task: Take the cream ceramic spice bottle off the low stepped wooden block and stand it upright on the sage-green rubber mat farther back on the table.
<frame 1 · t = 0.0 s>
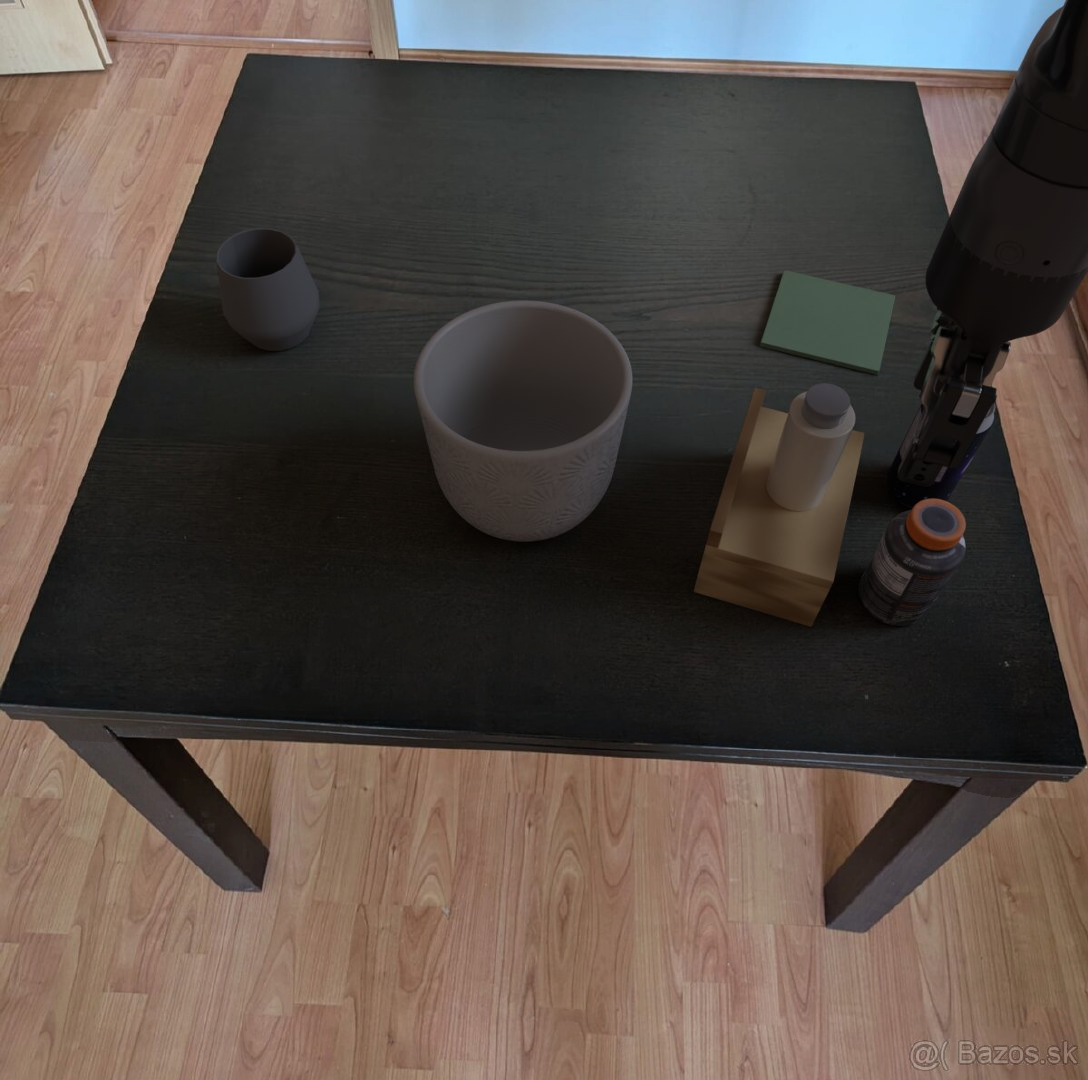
hand: (921, 432, 62), 21 cm above the table, tool pointing down, fingers open, 8 cm apart
planter: (525, 494, 85), on the table
spice bottle: (795, 488, 76), point 7 cm above the table, touching stepped wooden block
beverage can: (914, 492, 85), on the table
cup: (280, 333, 97), on the table
mat: (828, 322, 98), on the table
stepped wooden block: (771, 535, 82), on the table
pill bottle: (891, 598, 79), on the table
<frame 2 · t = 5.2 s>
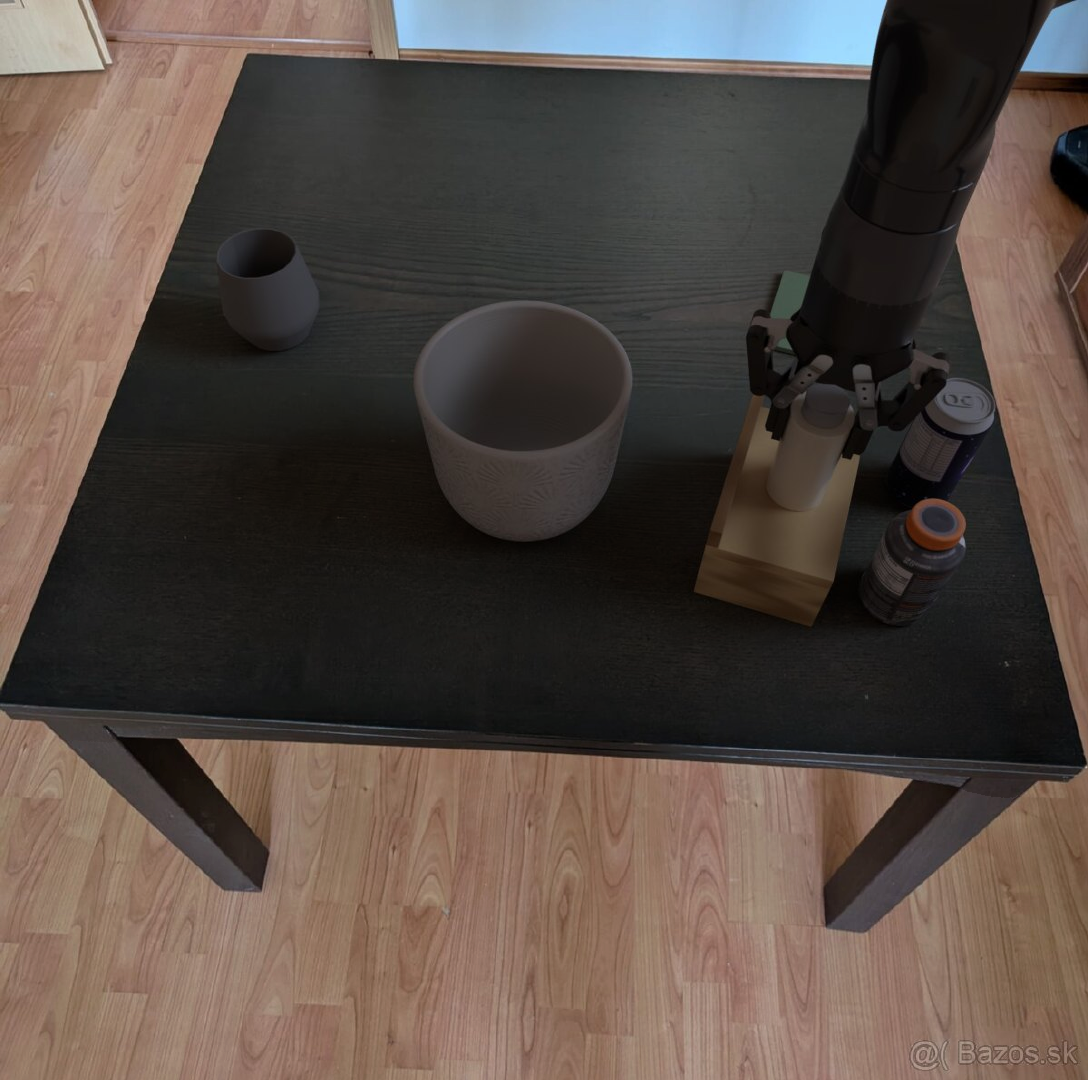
hand: (812, 441, 72), 13 cm above the table, tool pointing down, fingers closed on spice bottle, 5 cm apart
spice bottle: (795, 488, 76), point 7 cm above the table, touching gripper, stepped wooden block
everything else where it was.
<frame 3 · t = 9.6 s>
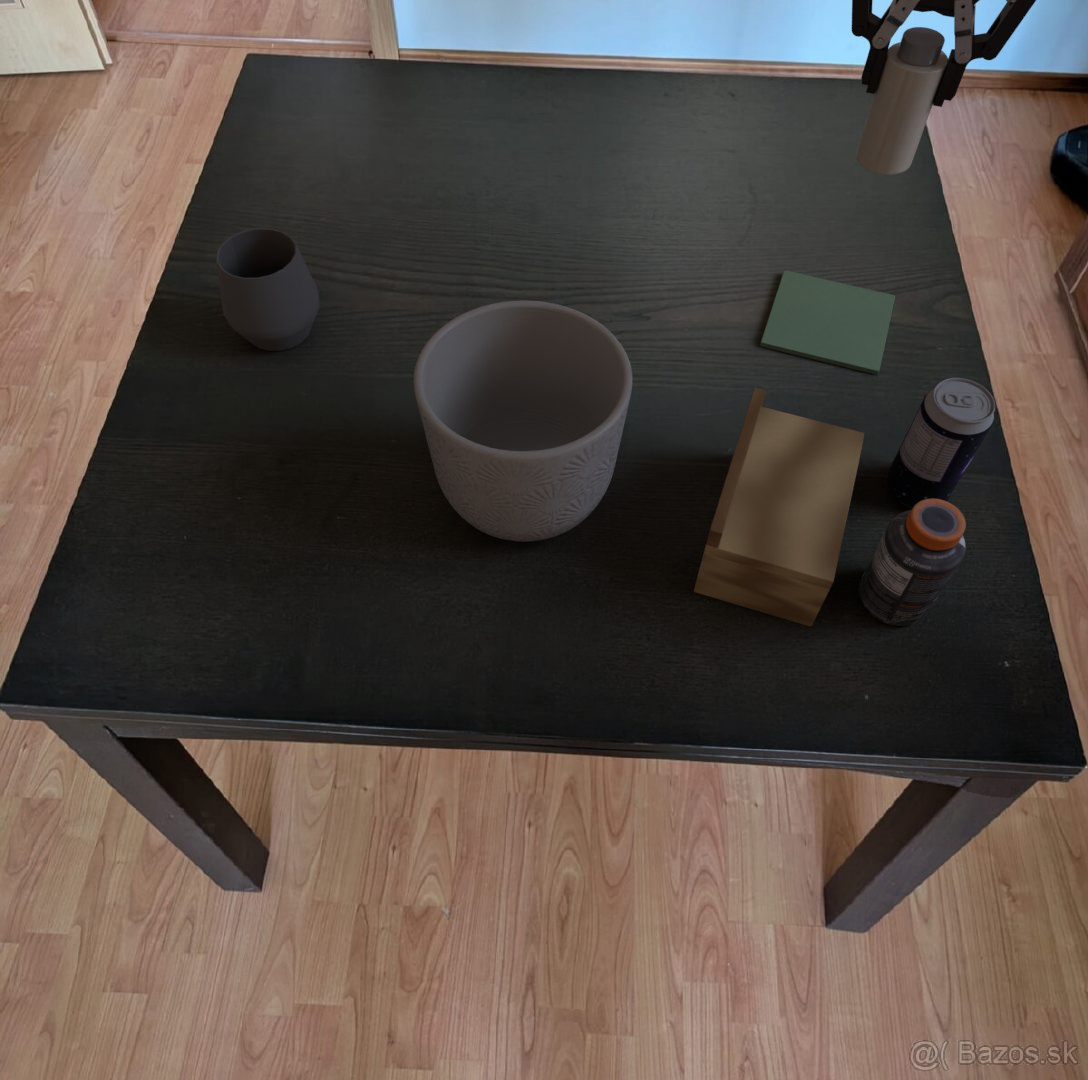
hand: (905, 94, 77), 25 cm above the table, tool pointing down, fingers closed on spice bottle, 4 cm apart
spice bottle: (883, 158, 82), point 19 cm above the table, touching gripper
everything else where it was.
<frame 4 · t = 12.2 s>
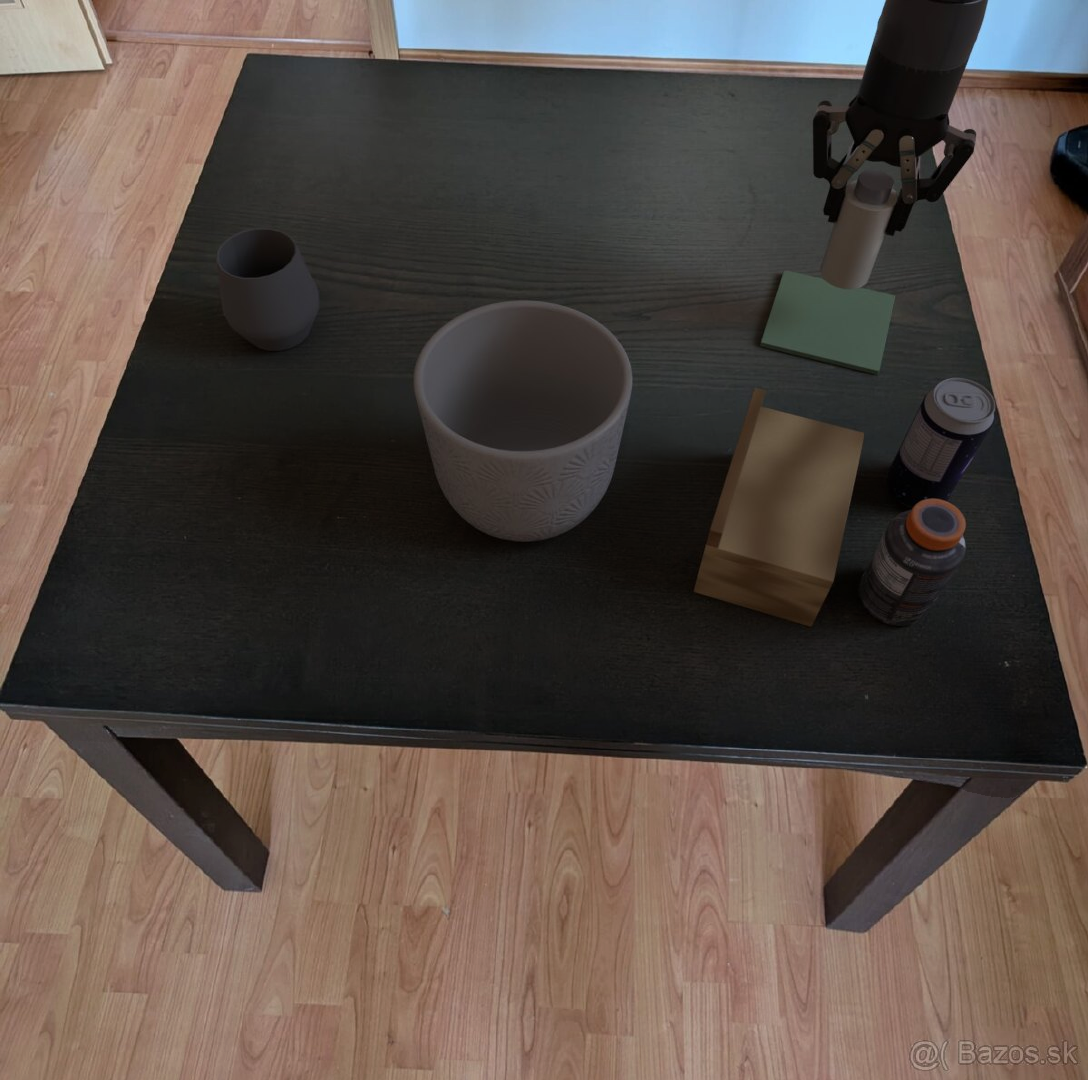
hand: (861, 223, 88), 12 cm above the table, tool pointing down, fingers closed on spice bottle, 4 cm apart
spice bottle: (844, 273, 93), point 6 cm above the table, touching gripper
everything else where it was.
when the fingers open (6 cm above the table, at t = 14.0 s): spice bottle stays where it is, resting on mat.
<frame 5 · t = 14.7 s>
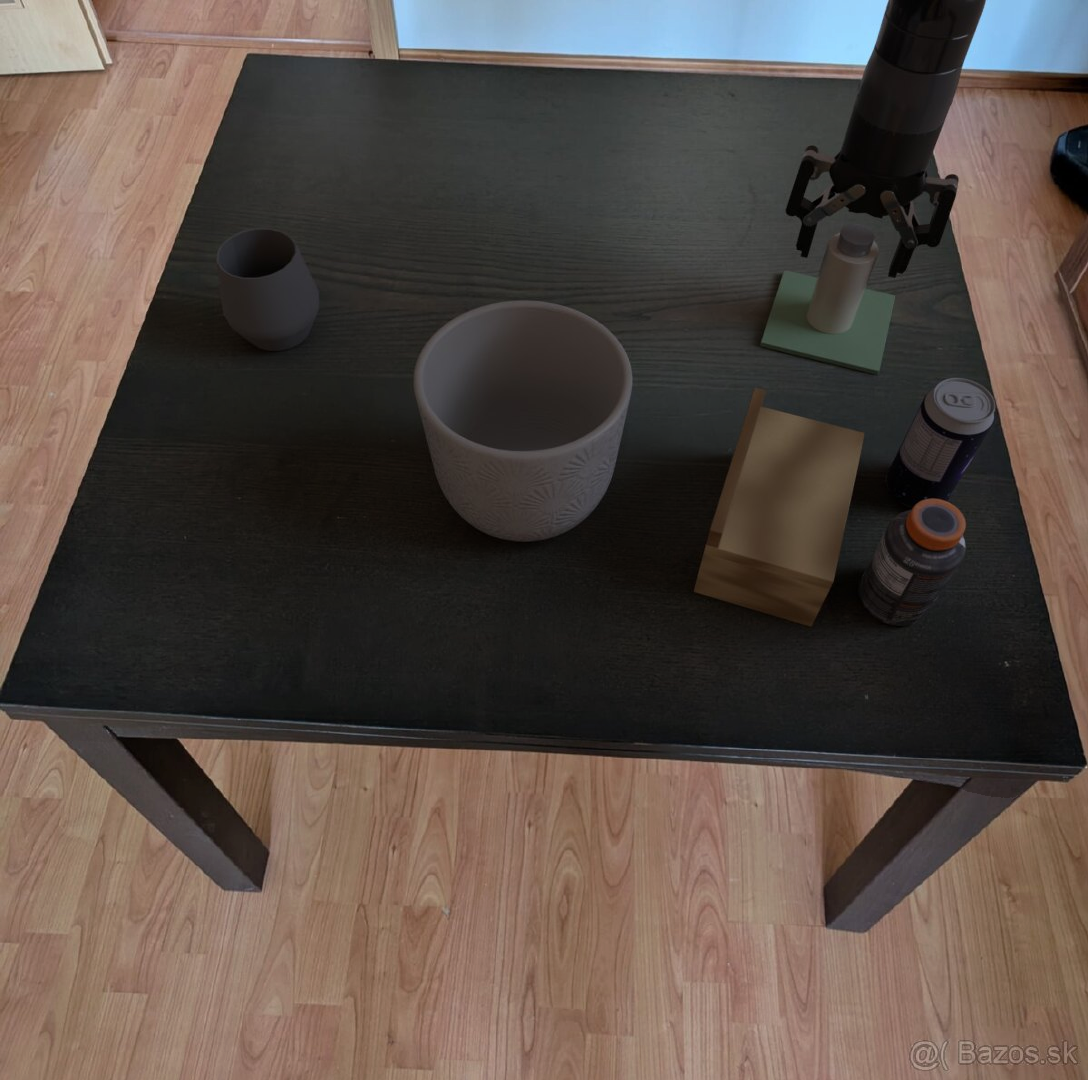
hand: (848, 262, 92), 8 cm above the table, tool pointing down, fingers open, 8 cm apart
spice bottle: (829, 318, 97), point 1 cm above the table, touching mat
everything else where it was.
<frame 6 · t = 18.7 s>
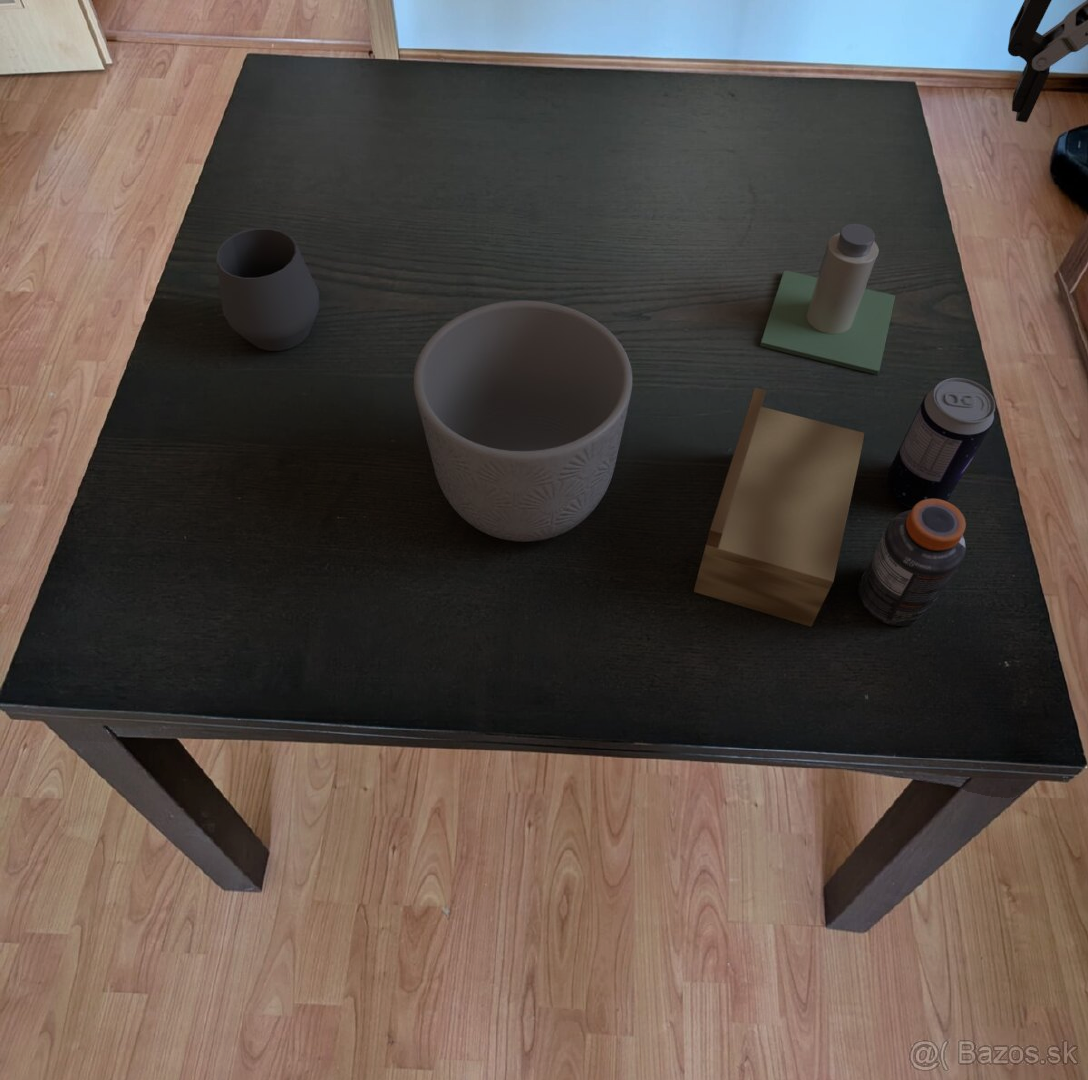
hand: (1084, 128, 66), 30 cm above the table, tool pointing down, fingers open, 8 cm apart
nothing on the table moved.
at the end: spice bottle inside the target area on the mat (0.0 cm from its centre), point 0.6 cm above the mat's base; spice bottle tilted 0°; spice bottle touching mat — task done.
